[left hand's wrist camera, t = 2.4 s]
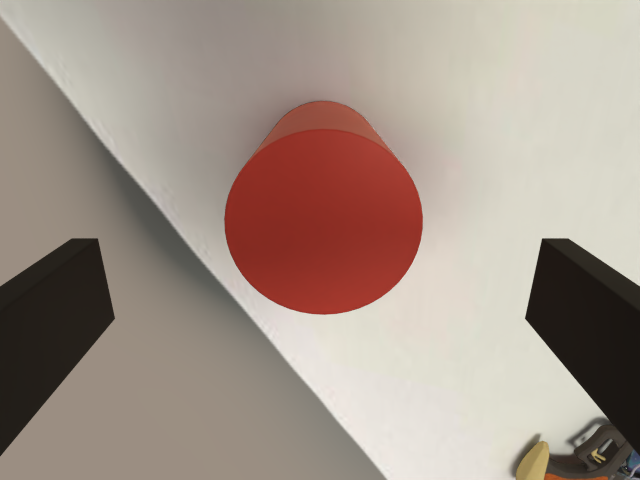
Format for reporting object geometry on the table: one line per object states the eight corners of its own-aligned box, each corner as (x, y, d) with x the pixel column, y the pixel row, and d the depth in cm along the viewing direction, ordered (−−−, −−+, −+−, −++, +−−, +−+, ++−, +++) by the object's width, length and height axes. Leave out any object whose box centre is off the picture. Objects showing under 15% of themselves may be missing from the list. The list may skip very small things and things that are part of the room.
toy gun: (514, 499, 35) (621, 544, 35) (658, 312, 29) (782, 368, 30) (503, 473, 37) (603, 515, 38) (633, 297, 32) (748, 348, 32)
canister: (391, 199, 28) (438, 291, 16) (285, 228, 28) (261, 333, 17) (365, 85, 25) (401, 102, 14) (249, 120, 26) (193, 162, 14)
